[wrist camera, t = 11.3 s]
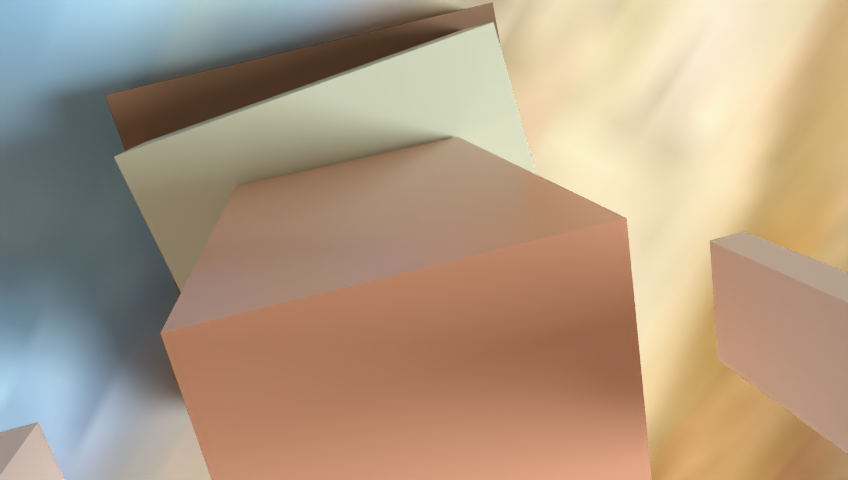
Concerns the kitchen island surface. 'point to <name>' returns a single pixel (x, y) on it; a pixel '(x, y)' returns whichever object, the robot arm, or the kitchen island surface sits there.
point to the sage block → (325, 133)
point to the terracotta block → (413, 327)
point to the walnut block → (269, 76)
